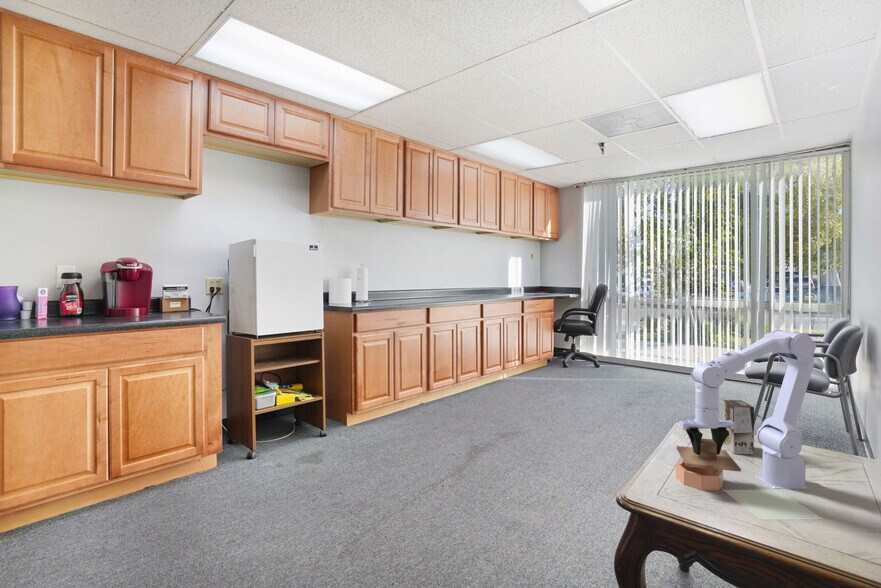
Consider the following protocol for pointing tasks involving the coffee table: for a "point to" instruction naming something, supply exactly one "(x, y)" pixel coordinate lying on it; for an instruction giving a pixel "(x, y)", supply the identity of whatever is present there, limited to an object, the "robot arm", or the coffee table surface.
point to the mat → (772, 505)
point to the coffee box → (739, 426)
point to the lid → (708, 457)
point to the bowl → (699, 477)
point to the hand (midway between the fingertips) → (706, 453)
